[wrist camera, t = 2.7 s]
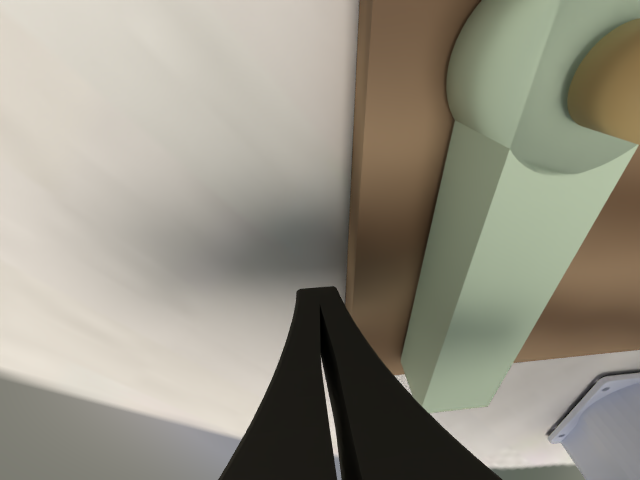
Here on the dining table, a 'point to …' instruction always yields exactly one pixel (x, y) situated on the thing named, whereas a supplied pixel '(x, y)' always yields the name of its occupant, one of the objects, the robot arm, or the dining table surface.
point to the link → (508, 193)
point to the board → (427, 169)
